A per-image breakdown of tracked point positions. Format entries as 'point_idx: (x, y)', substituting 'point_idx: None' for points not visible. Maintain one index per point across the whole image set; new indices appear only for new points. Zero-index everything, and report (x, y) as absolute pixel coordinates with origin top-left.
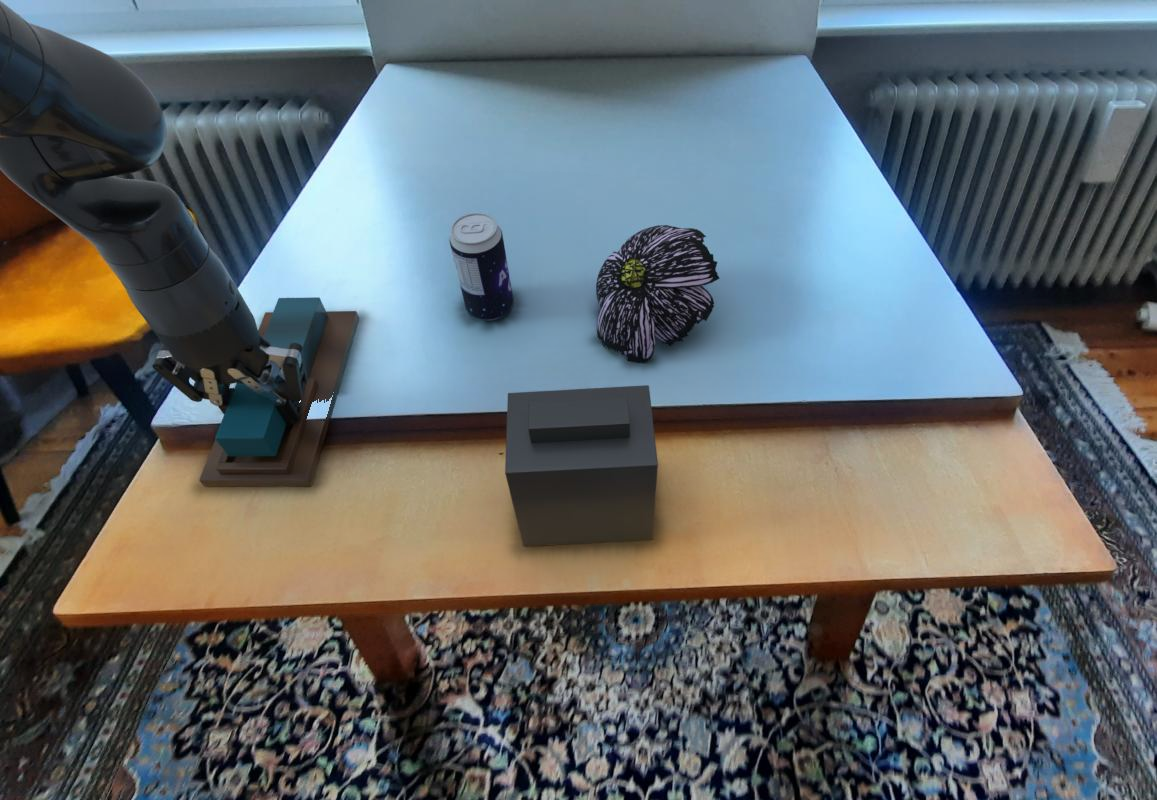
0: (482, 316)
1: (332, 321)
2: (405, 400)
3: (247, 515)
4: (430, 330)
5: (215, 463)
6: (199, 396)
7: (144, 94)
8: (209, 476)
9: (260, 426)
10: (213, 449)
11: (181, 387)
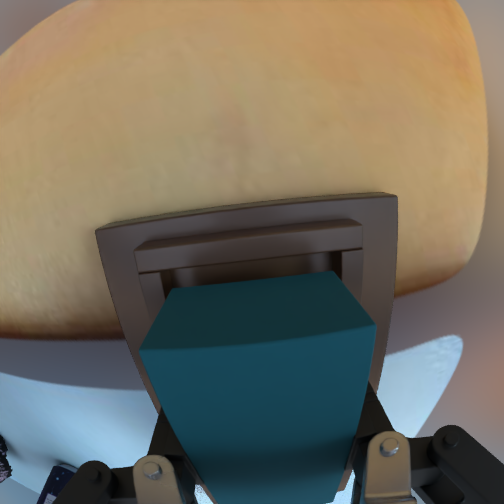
0: (63, 472)
1: None
2: (67, 401)
3: (236, 116)
4: None
5: (374, 251)
6: (439, 455)
7: None
8: (376, 209)
9: (186, 397)
10: (389, 290)
11: (488, 470)
